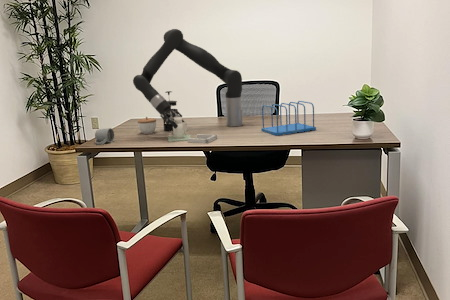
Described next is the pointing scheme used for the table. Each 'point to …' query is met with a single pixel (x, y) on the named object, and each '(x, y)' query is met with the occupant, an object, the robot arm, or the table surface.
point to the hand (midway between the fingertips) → (180, 125)
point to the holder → (205, 137)
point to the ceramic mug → (104, 136)
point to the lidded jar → (147, 125)
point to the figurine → (179, 128)
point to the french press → (166, 126)
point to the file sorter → (288, 127)
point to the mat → (171, 139)
